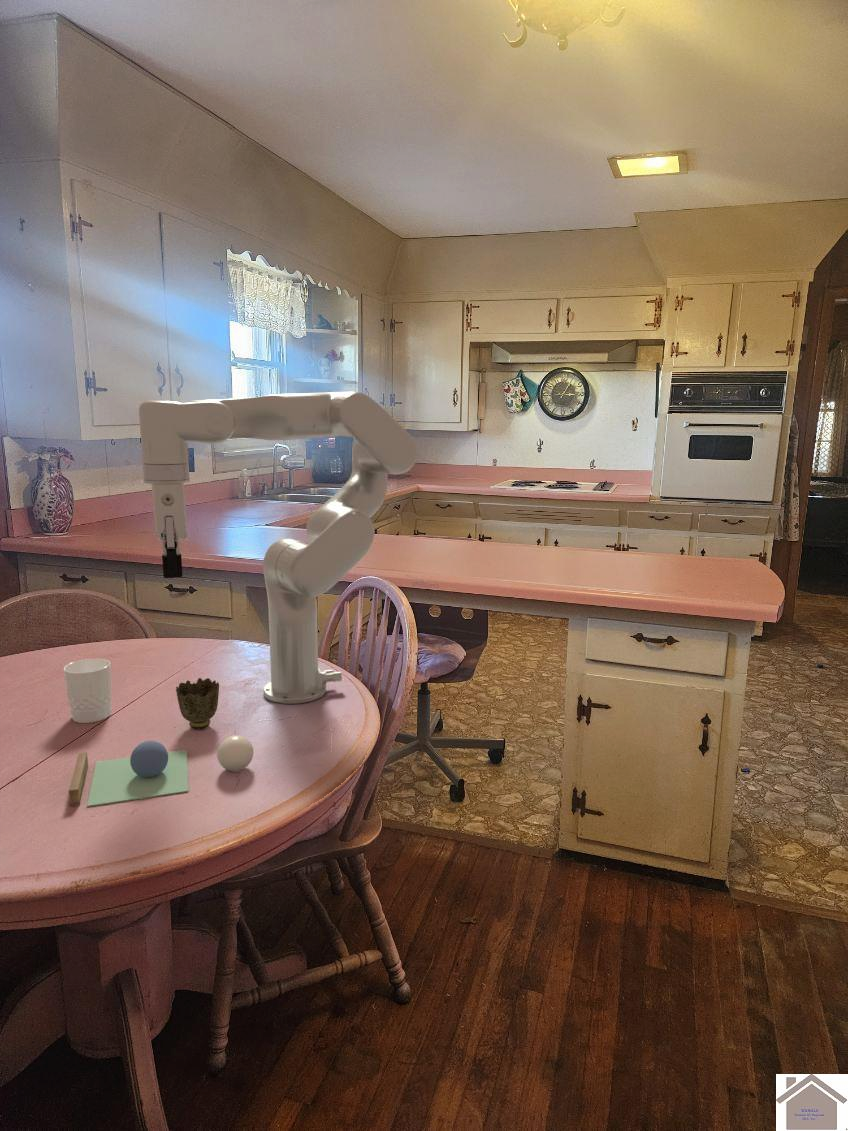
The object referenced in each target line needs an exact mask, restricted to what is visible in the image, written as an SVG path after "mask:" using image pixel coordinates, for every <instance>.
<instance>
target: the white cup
mask: <svg viewBox="0 0 848 1131" xmlns="http://www.w3.org/2000/svg"><path fill="white" fill-rule="evenodd" d="M111 668H112V667H111V661H110V660H108V659H106V658H100V657H99V658H96V657H94V658H85V659H80V660H75V661H72V662H69V663H68V664H66V665H65V666H64V667H63V668H62V669H63V675H64V681H65V682H64V683H65V688H66V693H67V694H66V695H67V699H68V700H67V701H68V705H69V709H70V715H71V719H72V720H73V721H74V723H75V722H76V723H78V724H79V723H80V724H89V723H90V724H92V723H96V722H100V721H102V720H105V719H107V718H108V717H110V716H111V714H112V672H111V670H112V669H111Z"/></svg>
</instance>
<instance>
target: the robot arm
mask: <svg viewBox="0 0 848 1131" xmlns="http://www.w3.org/2000/svg"><path fill="white" fill-rule="evenodd" d="M138 418H139V428H140V430H139V431H140V443H141V444H140V446H141V458H142V460H141V461H142V473H143V475H142V476H143V483H144V484H148V485H149V484H150V485H151V494H152V504H153V505H152V506H153V516H154V524H155V530H156V534H157V540H158V541H160V542H162V553H163V554H162V556H161V557H162V558H161V560H162V572H163V573H162V577H163V578H164V579H173V578H174V579H177V578H182V577H183V565H182V564H183V562H182V553H180V539H182V538H183V541H186V540H187V539H188V523H187V522H188V520H187V506H186V505H187V504H186V503H187V502H186V493H185V485H184V484H186V483H190V482H191V481H190V465H189V449H188V443H199V444H208V445H218V444H221V443H224V442H226V441H228V440H235V439H236V440H237V439H238V440H239V439H240V440H241V439H254V440H266V441H293V440H294V441H295V440H296V441H297V440H307V439H318V438H333V437H347V438H348V437H350V438H353V440H354V442H353V445H352V454H351V455H352V471H351V474H350V476H349V479H348V480H347V481H346V483H345V484H343V486H342V487H341V488H340V489H339V490H338V491H336V493H333V495H332V496H331V497H330V498H329V499H328V500H326V502H324V504H322V505H321V506H319V508H318V509H316V511H314V512H313V513H312V515H310V517H309V519H308V520H307V523H306V535H307V537H308V539H309V540H310V543H307V542H304V541H302V540H299V539H295V538H281V539H279V540H277V541H275V542H273V543H272V544H271V545H270V546H269V547H268V549H267V550H266V552H265V554H264V556H263V563H262V568H263V569H262V570H263V577H264V583H265V589H266V594H267V595H266V596H267V603H268V604H267V605H268V606H267V607H268V626H269V627H268V630H269V634H268V635H269V654H270V655H269V657H270V658H269V659H270V678H271V679H270V681H269V682H268V683H266V684H265V685H264V687H263V696H264V697H265V699H267V700H269V701H271V702H274V703H278V704H279V703H280V704H285V705H286V704H287V705H289V704H291V705H292V704H293V705H294V704H303V703H308V702H312V701H315V700H317V699H320V698H321V697H323V696H325V695H326V692H327V683H331V682H333V683H336V682H341V681H342V679H343V678H342V676H343V675H342V671H335V672H334V670H333V669H326V670H322V669H320V666H319V651H318V650H319V646H318V645H319V644H318V642H319V641H318V640H319V639H318V638H319V637H318V605H317V604H318V603H317V597H319V596H322V595H324V594H325V593H326V592H328V591H329V590H330V589H332V588H333V587H334V586H335V585H336V584H337V583H338V582H340V580H342V578H343V577H345V575H347V573H348V572H350V571H351V570H352V569H353V568H354V567H355V566H356V565H357V564H358V563H359V562H360V561H361V560H362V559H363V558H364V556H366V554H368V552H369V550H370V549H371V547H372V544H373V542H374V540H375V527H374V523H373V521H372V519H371V518H372V517H373V516H374V514H376V512H378V511H379V509H381V507H382V505H383V503H384V502H385V500H386V496H387V491H388V479H389V478H388V475H401V474H405V473H407V472H409V471H410V470H411V469H412V468H413V467H414V465H415V464H416V462H417V458H418V446H417V444H416V442H415V439H414V438H413V437H412V435H411V434H410V433H409V432H408V431H407V430H406V429H405V428H404V427H403V426H402V425H401V424H399V422H397V420H396V419H394V418H393V417H392V416H391V415H390V414H389V412H387V410H385V409H384V407H382V406H381V405H380V404H379V403H378V402H377V401H376V400H375V399H373V398H372V397H370V396H369V395H367V394H366V393H364V392H359V391H332V392H331V391H328V392H308V393H307V392H306V393H305V392H303V393H279V394H267V395H260V396H255V397H243V398H240V397H239V398H221V399H197V400H195V399H194V400H190V401H188V402H179V401H176V400H175V401H174V400H173V401H172V400H146V401H143V402H142V403H141V404H140V405H139V409H138Z"/></svg>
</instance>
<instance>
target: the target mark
mask: <svg viewBox="0 0 848 1131" xmlns="http://www.w3.org/2000/svg"><path fill="white" fill-rule="evenodd" d="M187 750H188V749H181V750H174V751H173V750H172V751H167V752H168V763H167V766H166V767H165V769H164V770H163V771H162V772H161V773H160V774H158V775H157V776H154V777H150V778H145V777H141V776H139V775H137V774H136V773H135V772H134V771H133V770H132V768H131V764H130V758H131V756H130V757H127V756H126V757H122V758H121V757H120V758H114V759H107V760H98V761H95V766H94V771H93V775H92V780H91V785H90V788H89V794H88V800H87V805H86V807H87V808H90V807H91V808H92V807H96V806H103V805H109V804H116V803H122V802H123V803H124V802H130V801H136V800H143V799H149V798H156V797H163V796H170V795H175V794H184V793H188V792H189V776H188V775H189V773H188V753H187Z"/></svg>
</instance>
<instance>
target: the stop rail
mask: <svg viewBox="0 0 848 1131" xmlns="http://www.w3.org/2000/svg"><path fill="white" fill-rule="evenodd" d="M88 770H89V758H88V752H80V753H78V754H77V758H76V762H75V766H74V770H73V774H72V777H71V781H70V786H69V789H68V794H69V804H70V807H74V806H80V804H81V800H82V796H83V792H84V787H85V783H86V779H87V775H88Z"/></svg>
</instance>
